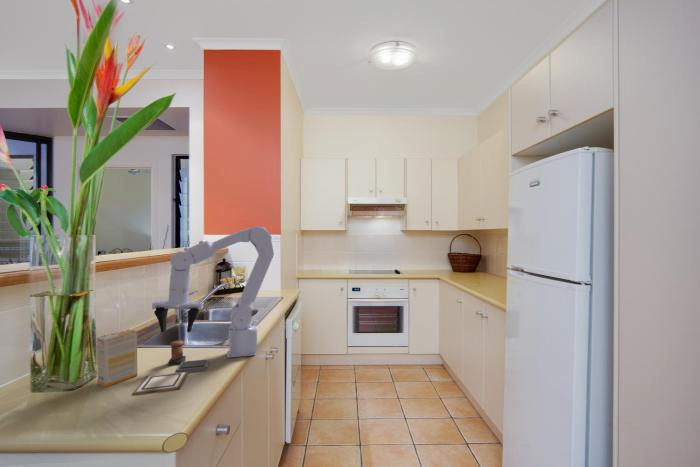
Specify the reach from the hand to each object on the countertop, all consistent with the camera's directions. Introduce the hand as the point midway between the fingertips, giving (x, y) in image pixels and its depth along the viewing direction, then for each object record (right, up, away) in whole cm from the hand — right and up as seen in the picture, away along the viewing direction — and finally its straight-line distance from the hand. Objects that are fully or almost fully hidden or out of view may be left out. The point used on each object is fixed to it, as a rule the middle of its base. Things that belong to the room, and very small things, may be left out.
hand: (176, 331), depth 103 cm
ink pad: (+8, -10, -4) cm, 13 cm away
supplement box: (-10, -10, -12) cm, 19 cm away
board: (+4, -10, -15) cm, 18 cm away
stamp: (0, -10, 0) cm, 10 cm away
